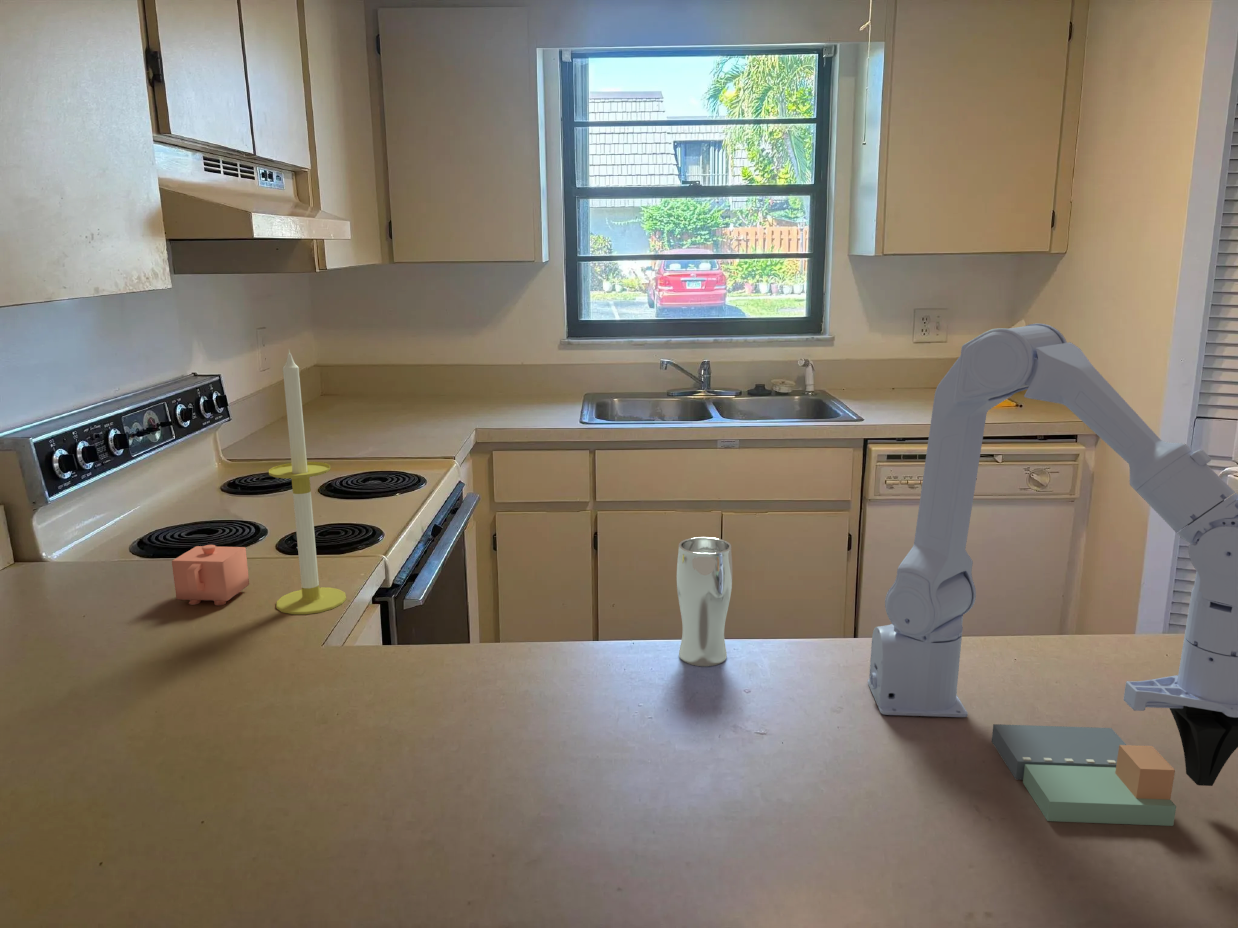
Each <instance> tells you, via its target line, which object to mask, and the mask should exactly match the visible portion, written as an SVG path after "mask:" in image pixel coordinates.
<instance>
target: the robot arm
mask: <svg viewBox="0 0 1238 928" xmlns="http://www.w3.org/2000/svg"><path fill="white" fill-rule="evenodd" d="M1025 390H1026V391H1025ZM1022 391H1023V392H1024V391H1025V394H1023V395H1024V398H1025V399H1032V400H1037V401H1043V402H1049V403H1054V404H1059V405H1063V406H1065V407H1066V408H1067V409H1068V410H1069V411H1071V412H1072V414H1074V415H1075V416H1076V417H1077V418H1078V419H1079V420H1080V421H1081V422H1082V423H1084V425H1086V426H1087V427H1088V428H1089V429H1090V430H1091V431H1092V432H1094V434H1095V435H1097V437H1099V438H1100V439H1101V440H1102V441H1103V442H1104V443H1106V445H1107V446H1109V447H1110V448H1111V449H1112V450H1113V451H1114V452H1115V453H1116V454H1117V455H1119V456H1120V457H1121V458H1122V459H1123V460H1124V461H1125V462H1126V463H1127V465H1128V466H1129V481H1128V482H1129V485H1130V487H1131V488H1132V489H1133V490H1134V491H1135V492H1136V493H1137V494H1138V495H1139V496H1140V497H1141V498H1142V499H1143V500H1144V501H1145V503H1147V504H1148V505H1149V507H1151V508H1152V510H1153V511H1155V512H1156V513H1157V514H1158V515H1159V517H1161V518H1162V520H1163V521H1164V522H1166V524H1167V525H1168V526H1169V527H1170V528H1171V529H1172V530H1173V531H1174V532H1175V533H1177V535H1178V537H1180V538H1181V539H1183V540H1184V541H1186V542H1188V543H1189V544H1188V551H1187V552H1188V557H1189V560H1190V562H1191V564H1192V567H1193V568H1194V569H1195V571H1196V572H1195V577H1194V584H1193V587H1192V588H1191V592H1190V599H1189V605H1188V611H1187V612H1188V613H1187V616H1186V624H1185V631H1184V638H1183V642H1182V643H1183V644H1182V648H1181V649H1182V650H1181V655H1180V662H1179V668H1178V674H1176V675H1171V676H1163V677H1159V678H1158V677H1157V678H1153V679H1146V680H1137V681H1135V680H1133V681H1132V680H1130V681H1128V680H1127V681H1126V682H1125V687H1124V693H1123V701H1124V702H1125V703H1126V705H1128V706H1129V707H1130V708H1131V709H1132V710H1133V711H1135V712H1137V711H1139V712H1144V711H1145V710H1146V708H1152V709H1155V708H1157V709H1160V708H1161V709H1169V710H1170V713H1171V714H1172V717H1173V719H1174V721H1175V724H1176V727H1177V730H1178V734H1179V737H1180V740H1181V741H1180V742H1181V744H1182V749H1183V755H1184V757H1183V758H1184V764H1185V765H1184V766H1185V774H1186V775H1187V776H1188V777H1189V778H1190V779H1191V781H1193V783H1195V784H1196V785H1197V786H1200V787H1201V786H1202V787H1203V786H1205V787H1207V786H1209V787H1213V785H1214V783H1215V782H1216V780H1217V778H1218V776H1219V775H1220V773H1221V771H1222V769H1223V767H1224V766H1225V764H1226V763H1227V761H1228V760H1229V759H1230V757H1231V756H1232V754H1234V752H1235V751H1236V749H1238V493H1237V492H1236V491H1235V490H1233V488H1231V486H1230V485H1229V484H1227V482H1225V480H1224V479H1222V478H1221V477H1220V476H1219V474H1217V473H1216V471H1214V470H1213V469H1212V468H1211V467H1210V466H1209V465H1208V463H1210V462H1211V461H1212V457H1211V456H1210V455H1208V453H1207V452H1206V451H1204V449H1201V448H1199V449H1197V450H1196V451H1193V450H1192V448H1191V447H1190V446H1188V445H1187V444H1185V443H1183V442H1170V441H1169V442H1168V441H1165V440H1162V439H1160V437H1159V436H1158V435H1157V434H1156V433H1155V431H1153V430H1152V429H1151V428H1150V426H1149V425H1148V424H1147V423H1146V422H1145V421H1144V420H1143V419H1142V418H1141V417H1140V416H1139V414H1137V413H1138V412H1136V411H1135V410H1134V409H1133V408H1132V407H1131V406H1130V405H1129V404H1128V402H1127V401H1126V400H1125V399H1124V398H1123V397H1122V396H1121V395H1120V394H1119V392H1118V391H1117V390H1116V389H1115V388H1114V387H1113V386H1112V385H1111V383H1109V381H1108V380H1106V378H1105V377H1104V376H1103V375H1102V374H1101V373H1100V372H1099V371H1098V370H1097V369H1096V367H1094V365H1093V364H1092V362H1091V361H1090V360H1089V359H1088V357H1087V356H1086V355H1085V353H1084V352H1083V350H1082V349H1081V348H1080V347H1078V346H1076V344H1074V343H1073V342H1070V341H1069V342H1067V339H1066V338H1065V336H1064V335H1063V333H1061V331H1060V330H1058V329H1057V328H1055V327H1054V326H1052V325H1050V324H1046V323H1031V324H1027V325H1024V326H1018V327H1011V328H1005V327H1003V328H1001V327H1000V328H999V327H997V328H991V329H989V330H987V331H984V332H983V333H981V334H979V335H977V336H976V337H974V338H973V339H971V340H969V341H968V342H965V343H964V344H963V345H961V350H960V355H959V356H958V358H957V359H956V361H954V363H953V364H952V366H951V367H950V368H949V370H948V371H947V373H946V374H945V375H944V377H943V378H942V379H941V380H940V382H939V383H938V385H937V386H936V389H935V392H934V398H933V405H932V411H931V418H930V419H931V420H930V427H929V433H928V434H929V435H928V440H927V448H926V454H925V455H926V456H925V461H924V468H923V469H924V470H923V475H922V476H923V477H922V483H921V491H920V499H919V506H918V513H917V519H916V526H915V527H916V528H915V534H914V541H913V545H912V547H911V549H910V550H909V551H908V552H907V554H906V555H905V557H904V558H903V560H902V561H901V563H900V564H899V565H898V567H897V571H896V577H895V580H894V583H893V584H892V585H891V587H890V588H889V589H888V591H887V593H886V595H885V599H884V608H885V612H886V615H887V617H888V620H889V621H890V623H891V624H886V625H879V626H875V627H874V628H873V630H872V636H871V645H870V646H871V647H870V662H869V675H868V677H869V678H868V679H867V684H868V686H869V689H870V691H871V694H872V697H873V698H874V700H875V703H876V705H877V707H878V710H879V712H880V713H881V714H882V715H884V716H908V717H909V716H913V717H919V716H920V717H940V718H941V717H946V718H948V717H949V718H967V717H968V714H969V713H968V711H967V710H966V707H965V705H963V702H962V701H961V700H960V698H959V697H958V695H957V692H958V684H959V683H958V682H959V681H958V680H959V671H960V659H961V650H962V649H961V648H962V638H963V620H964V615H965V614H967V613H968V612H970V610H971V609H972V608H973V607H974V605H975V604H976V600H977V599H976V598H977V589H976V586H975V582H974V579H973V575H972V574H973V572H972V571H973V564H974V562H973V559H972V558H971V556H970V555H969V553H968V552H967V550H966V548H967V542H968V535H969V528H970V523H971V522H970V521H971V516H972V515H971V514H972V510H973V502H974V498H975V497H974V496H975V490H976V485H977V484H976V483H977V477H978V473H979V472H978V471H979V465H980V459H981V452H982V445H983V439H984V433H985V428H986V427H985V426H986V420H987V413H988V412H989V411H990V410H991V409H993V408H994V407H996V406H998V405H999V404H1001V403H1003V402H1004V401H1006V400H1007V399H1009V398H1010V397H1012V396H1013V395H1014V394H1017V393H1019V392H1022Z"/></svg>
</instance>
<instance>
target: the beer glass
mask: <svg viewBox="0 0 1238 928" xmlns="http://www.w3.org/2000/svg"><path fill="white" fill-rule="evenodd" d="M732 555H733V553H732V544H731V543H730V542H729V541H727V540H724V539H722V538H719V537H718V538H717V537H711V536H710V537H709V536H698V537H697V536H695V537H690V538H686V539H683V540H681V541H680V542H679V543H678V554H677V564H676V591H677V597H678V598H677V599H678V604H679V605H678V606H679V611H680V616H681V622H682V632H681V633H682V637H681V642H680V645H679V652H678V656H679V658H680V659H681V660H682V662H684V663H687V664H689V665H692V666H696V667H705V668H706V667H714V666H718V665H720V664H722V663H724V662H725V661H726V659H727V656H728V655H727V647H726V640H725V627H726V626H725V625H726V620H727V615H728V610H729V605H730V601H731V594H732V589H733V556H732Z"/></svg>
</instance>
